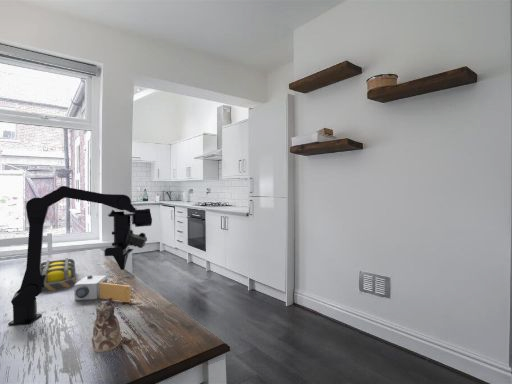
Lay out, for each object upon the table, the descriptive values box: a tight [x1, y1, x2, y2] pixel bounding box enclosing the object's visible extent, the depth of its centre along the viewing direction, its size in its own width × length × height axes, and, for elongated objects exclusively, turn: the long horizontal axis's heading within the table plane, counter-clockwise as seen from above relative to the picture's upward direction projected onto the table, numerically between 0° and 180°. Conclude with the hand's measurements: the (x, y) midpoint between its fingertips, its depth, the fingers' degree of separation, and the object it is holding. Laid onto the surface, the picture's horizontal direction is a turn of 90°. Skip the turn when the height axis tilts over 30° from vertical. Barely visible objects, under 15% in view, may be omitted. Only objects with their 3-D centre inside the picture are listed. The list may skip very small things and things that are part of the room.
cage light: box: [41, 257, 77, 293], centre depth 136 cm, size 15×8×30 cm
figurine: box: [91, 298, 122, 353], centre depth 81 cm, size 7×7×12 cm
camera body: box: [73, 274, 108, 301], centre depth 118 cm, size 12×8×7 cm, turn 6°
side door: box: [96, 282, 131, 303], centre depth 112 cm, size 15×1×6 cm, turn 71°
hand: (122, 269), depth 111 cm, fingers closed
